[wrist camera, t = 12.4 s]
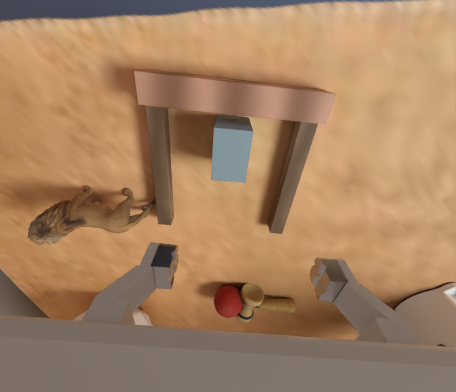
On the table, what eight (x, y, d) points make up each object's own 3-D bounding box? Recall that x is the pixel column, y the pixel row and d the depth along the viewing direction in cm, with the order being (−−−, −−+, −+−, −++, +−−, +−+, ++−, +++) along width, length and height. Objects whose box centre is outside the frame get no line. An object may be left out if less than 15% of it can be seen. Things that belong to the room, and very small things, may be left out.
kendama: (296, 282, 47) (219, 277, 42) (306, 313, 42) (221, 312, 38) (280, 295, 52) (210, 292, 47) (287, 324, 48) (210, 324, 43)
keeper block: (248, 117, 26) (253, 131, 21) (242, 161, 29) (245, 182, 24) (216, 114, 26) (213, 127, 21) (214, 159, 29) (210, 179, 24)
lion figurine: (75, 213, 35) (32, 255, 27) (60, 185, 32) (7, 224, 24) (163, 210, 34) (144, 253, 27) (155, 182, 31) (132, 221, 24)
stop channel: (321, 89, 24) (336, 93, 21) (279, 225, 36) (284, 242, 32) (147, 69, 23) (133, 71, 20) (161, 216, 35) (154, 232, 31)
